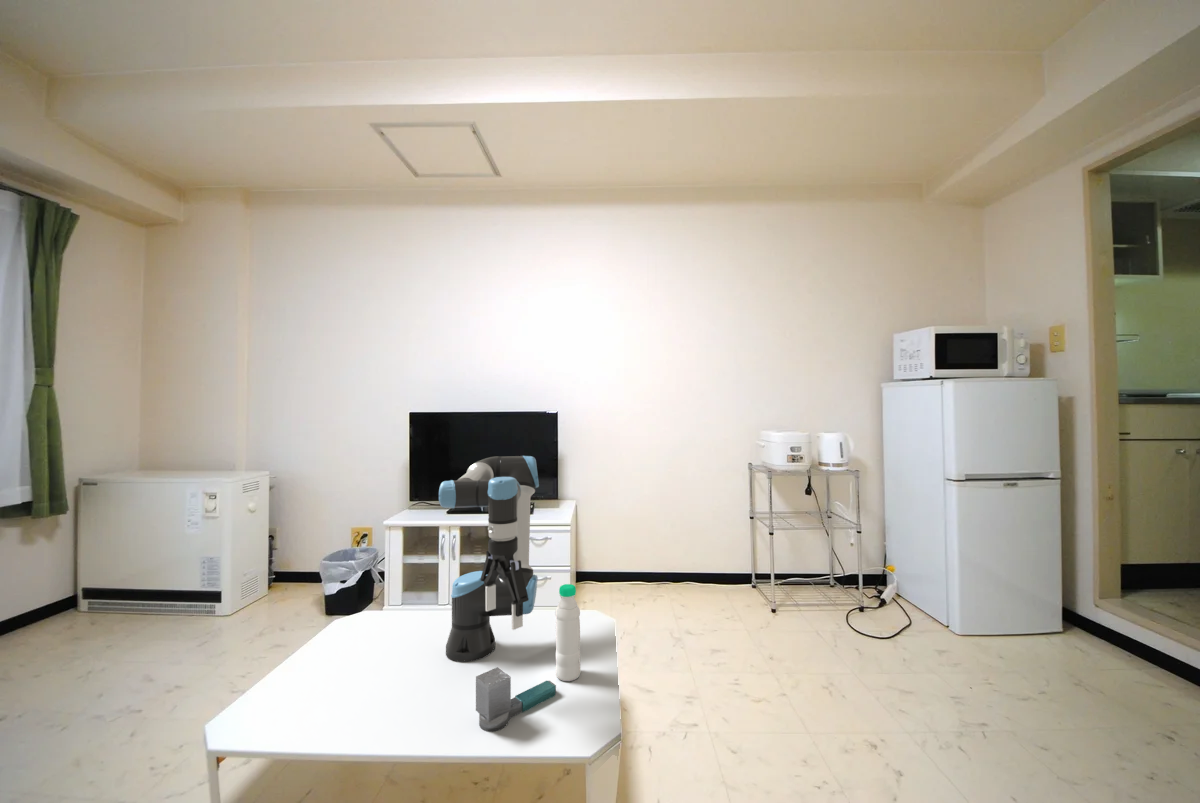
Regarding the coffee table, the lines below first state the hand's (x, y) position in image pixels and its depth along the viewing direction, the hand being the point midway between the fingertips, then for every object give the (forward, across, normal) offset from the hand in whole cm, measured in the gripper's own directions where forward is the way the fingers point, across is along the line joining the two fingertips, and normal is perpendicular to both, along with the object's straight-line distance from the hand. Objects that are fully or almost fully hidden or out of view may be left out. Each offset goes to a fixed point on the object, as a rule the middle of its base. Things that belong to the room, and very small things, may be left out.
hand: (503, 618), depth 119 cm
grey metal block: (+18, +6, -6) cm, 20 cm away
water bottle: (+21, +3, +19) cm, 29 cm away
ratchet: (+21, +7, 0) cm, 22 cm away
